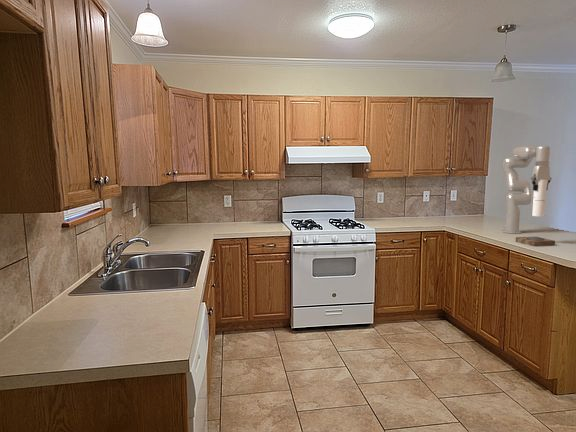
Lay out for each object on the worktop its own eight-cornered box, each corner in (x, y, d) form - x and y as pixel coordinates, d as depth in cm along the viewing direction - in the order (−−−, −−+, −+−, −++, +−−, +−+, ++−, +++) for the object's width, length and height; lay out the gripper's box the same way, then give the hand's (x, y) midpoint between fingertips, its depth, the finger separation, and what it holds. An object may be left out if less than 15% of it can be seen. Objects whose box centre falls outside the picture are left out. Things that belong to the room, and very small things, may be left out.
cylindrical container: (539, 215, 260) (542, 179, 257) (547, 216, 253) (549, 179, 250) (529, 215, 260) (532, 179, 257) (537, 216, 253) (539, 179, 250)
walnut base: (515, 241, 261) (515, 236, 261) (535, 240, 264) (536, 235, 263) (533, 246, 246) (534, 241, 245) (554, 245, 248) (555, 240, 248)
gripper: (548, 164, 257) (546, 189, 260) (526, 164, 255) (524, 190, 257) (557, 164, 250) (555, 190, 252) (535, 164, 247) (533, 190, 249)
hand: (540, 190), depth 254 cm, fingers closed on cylindrical container, 7 cm apart
